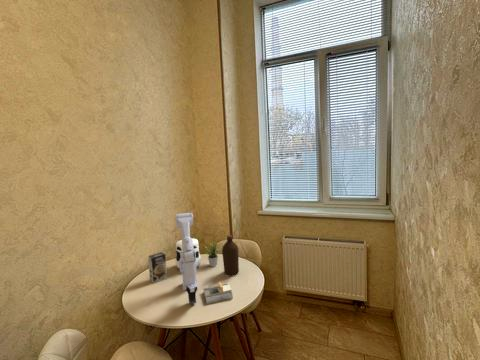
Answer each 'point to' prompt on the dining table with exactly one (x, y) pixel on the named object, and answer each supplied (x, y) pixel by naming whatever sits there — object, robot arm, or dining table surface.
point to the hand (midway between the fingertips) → (192, 298)
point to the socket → (218, 296)
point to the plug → (192, 301)
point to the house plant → (213, 254)
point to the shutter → (224, 288)
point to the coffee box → (157, 267)
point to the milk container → (180, 251)
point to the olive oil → (230, 257)
